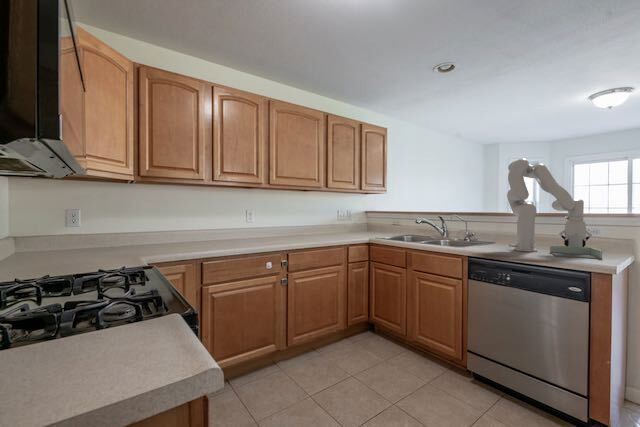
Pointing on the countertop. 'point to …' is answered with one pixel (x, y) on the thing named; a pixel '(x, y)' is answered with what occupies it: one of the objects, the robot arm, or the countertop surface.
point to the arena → (576, 252)
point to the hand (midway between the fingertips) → (574, 246)
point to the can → (575, 241)
